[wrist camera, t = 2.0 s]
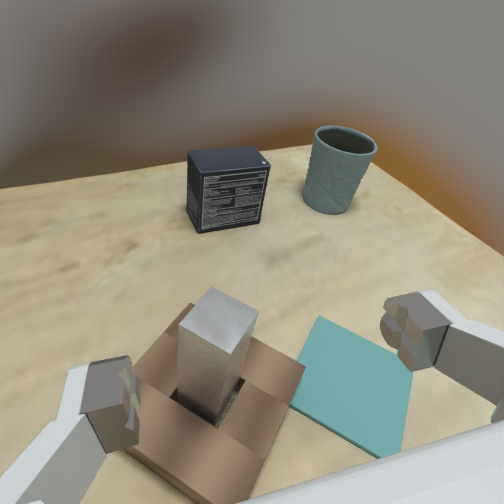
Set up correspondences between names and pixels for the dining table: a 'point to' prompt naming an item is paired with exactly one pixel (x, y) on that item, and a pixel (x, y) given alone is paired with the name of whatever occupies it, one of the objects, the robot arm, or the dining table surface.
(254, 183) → the small box
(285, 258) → the dining table surface
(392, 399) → the mat
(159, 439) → the socket block
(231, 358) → the metal bar
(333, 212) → the grey-green cup
